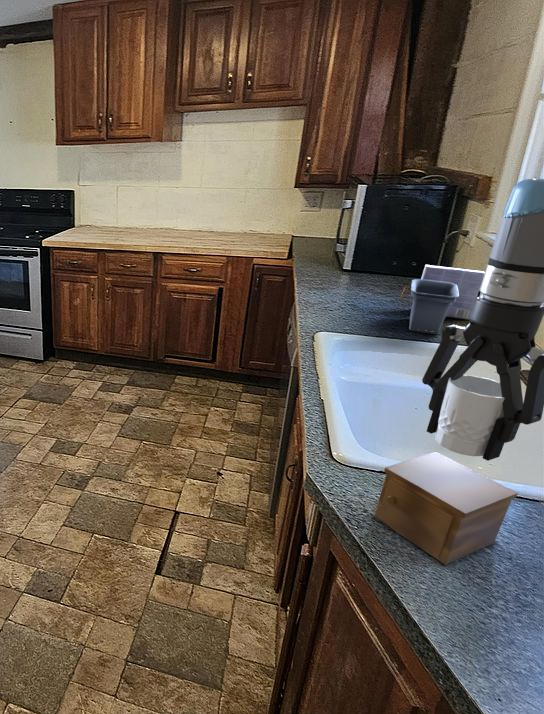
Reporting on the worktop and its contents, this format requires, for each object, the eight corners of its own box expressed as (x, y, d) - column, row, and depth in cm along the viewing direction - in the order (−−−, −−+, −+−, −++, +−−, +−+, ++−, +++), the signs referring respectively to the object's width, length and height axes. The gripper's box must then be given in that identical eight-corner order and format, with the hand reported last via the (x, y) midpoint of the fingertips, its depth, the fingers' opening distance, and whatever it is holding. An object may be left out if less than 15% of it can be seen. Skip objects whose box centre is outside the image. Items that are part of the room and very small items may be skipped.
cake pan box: (472, 317, 195) (487, 270, 189) (473, 320, 191) (489, 272, 185) (411, 309, 204) (423, 264, 198) (411, 312, 200) (424, 266, 194)
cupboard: (497, 543, 84) (518, 492, 80) (441, 568, 79) (461, 515, 75) (420, 498, 94) (435, 451, 91) (366, 517, 89) (380, 468, 85)
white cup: (445, 427, 86) (464, 371, 82) (502, 450, 79) (525, 390, 75) (420, 440, 82) (438, 381, 78) (477, 464, 75) (500, 402, 72)
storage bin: (447, 339, 173) (460, 296, 167) (393, 330, 180) (403, 289, 175) (445, 322, 189) (457, 283, 184) (395, 315, 197) (405, 277, 192)
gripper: (420, 283, 79) (383, 418, 88) (590, 324, 62) (522, 486, 70) (452, 279, 82) (413, 410, 90) (623, 317, 64) (554, 474, 73)
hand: (461, 443), depth 80 cm, fingers closed on white cup, 8 cm apart
